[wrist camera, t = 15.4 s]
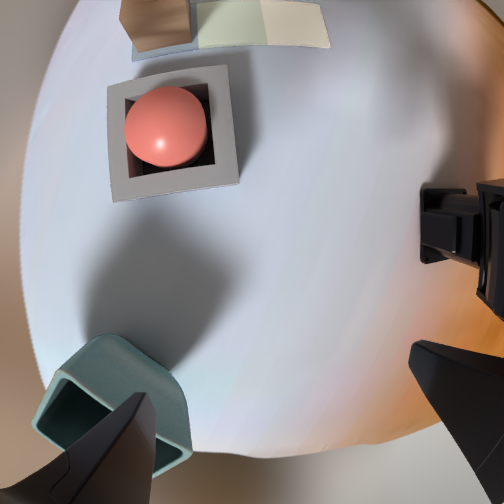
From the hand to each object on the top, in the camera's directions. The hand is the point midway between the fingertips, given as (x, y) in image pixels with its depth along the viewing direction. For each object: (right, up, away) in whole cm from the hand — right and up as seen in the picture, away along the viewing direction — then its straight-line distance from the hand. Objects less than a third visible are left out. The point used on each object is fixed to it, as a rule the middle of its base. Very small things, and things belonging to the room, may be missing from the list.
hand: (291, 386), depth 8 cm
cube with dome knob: (-8, +21, +7) cm, 23 cm away
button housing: (-6, +12, +9) cm, 16 cm away
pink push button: (-6, +11, +8) cm, 16 cm away
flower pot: (-11, -6, +13) cm, 18 cm away
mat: (-3, +21, +7) cm, 23 cm away
